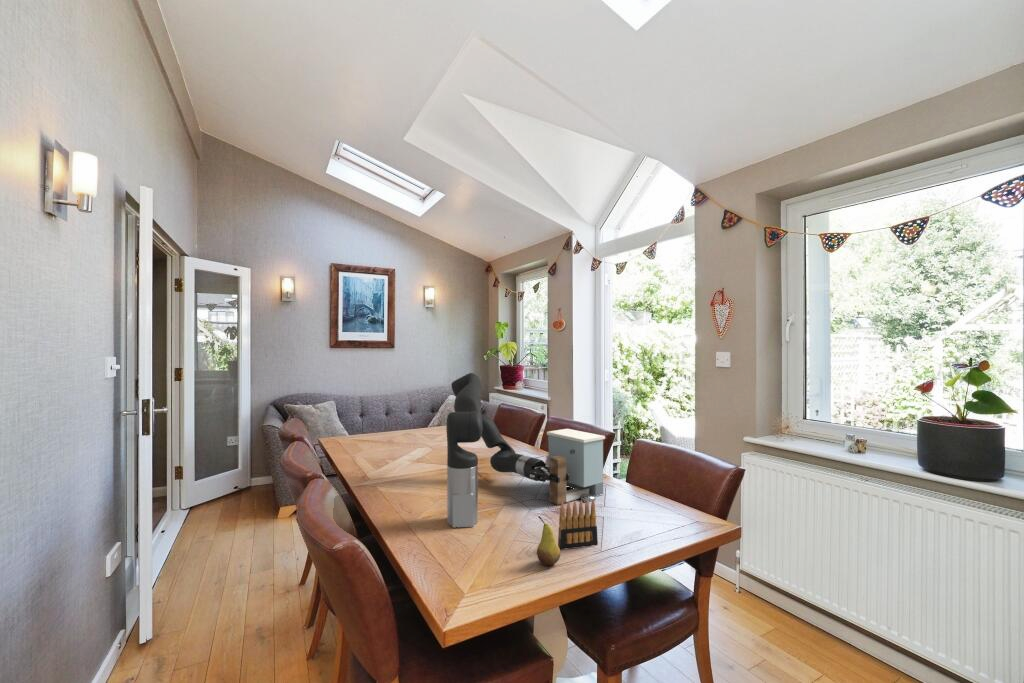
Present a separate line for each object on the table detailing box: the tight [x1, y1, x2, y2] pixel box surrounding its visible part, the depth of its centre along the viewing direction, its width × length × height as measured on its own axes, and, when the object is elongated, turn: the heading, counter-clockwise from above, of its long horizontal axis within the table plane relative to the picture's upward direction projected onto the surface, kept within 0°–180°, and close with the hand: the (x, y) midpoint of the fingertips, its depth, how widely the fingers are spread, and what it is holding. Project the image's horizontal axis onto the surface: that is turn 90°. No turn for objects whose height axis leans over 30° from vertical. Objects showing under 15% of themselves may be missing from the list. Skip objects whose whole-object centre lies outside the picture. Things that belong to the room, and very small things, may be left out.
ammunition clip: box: [557, 500, 599, 550], centre depth 123 cm, size 11×2×12 cm, turn 104°
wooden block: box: [549, 456, 589, 506], centre depth 160 cm, size 4×16×15 cm, turn 128°
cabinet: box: [546, 428, 606, 497], centre depth 169 cm, size 19×12×21 cm, turn 38°
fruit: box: [536, 515, 561, 566], centre depth 113 cm, size 6×6×12 cm
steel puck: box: [580, 494, 597, 503], centre depth 159 cm, size 5×5×2 cm
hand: (563, 478), depth 154 cm, fingers closed on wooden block, 4 cm apart
